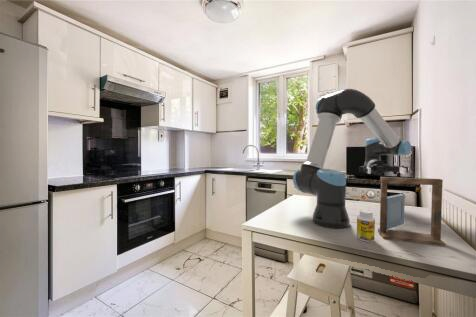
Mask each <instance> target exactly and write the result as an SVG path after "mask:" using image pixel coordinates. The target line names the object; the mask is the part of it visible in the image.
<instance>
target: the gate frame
mask: <svg viewBox="0 0 476 317" xmlns="http://www.w3.org/2000/svg"><path fill="white" fill-rule="evenodd" d="M379 178H380V179H379V180H380V181H379V182H380V200H379V201H380V202H379V203H380V207H379V208H380V209H379V210H380V211H379V228H377V231H378V233H379V235H380V237H381V238H382V239H385V240H393V241H399V242H400V241H401V242H408V243H418V244H425V245H433V246H440V247H446V243H445V242H444V241H443V240H442V239H441V238H442V235H441V233H442V211H443V208H442V206H443V184H444V183H443V179H441V178H425V177H423V178H421V177H417V178H416V177H397V176H396V177H395V176H394V177H393V176H391V177H390V176H380V177H379ZM388 184H397V185H398V184H401V185H423V186H424V185H425V186H431V208H430V209H431V212H430V213H431V214H430V233H425V232H415V231H405V230H397V229H386V217H387V197H388Z"/></svg>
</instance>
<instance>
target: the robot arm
mask: <svg viewBox="0 0 476 317" xmlns="http://www.w3.org/2000/svg"><path fill="white" fill-rule="evenodd" d="M315 110H316V111H315V113H316V114H317V117H316V118H317V119H318V123H317V125H316V129H315V132H314V135H313V139H312V141H311V145H310V148H309V150H308V151H309V152H308V155H307V158H306V160H305V162H303V163H302V164H301V165H300V168H299V169H297V170H296V171H295V172H294V173H293V176H292V182H293V185H294V188H295V189H296V190H297V191H299V192H302V193H304V194H308V195H313V196H316V205H315V208H314V211H313V214H312V222H313V223H314V224H315V225H318V226H320V227H325V228H328V229H329V228H330V229H344V228H348V227H350V220H351V219H350V217H349V214H348V211H347V207H346V194H347V193H346V192H347V191H346V190H347V181H346V180H347V179H346V174H345V172H342V171H340V170H337V169H330V168H324V165H325V162H326V158H327V155H328V152H329V149H330V146H331V142H332V139H333V135H334V132H335V129H336V126H337V124H338V123H340V122H341V119H342V117H343V116H344V115H347V114H349V115H350V114H352V115H353V116H354V117H355V118H356V119H360V120H361V122H362V123H363V124H364V125H365V126H366V128H368V130H370V131H371V133H372V134H373V136H375V137H376V138H367V139H366V140H365V145H364V146H365V161H364V165H361V166H359V167H358V169H359V170H358V171H359V172H363V174H369V175H371V174H374V175H382V174H385V173H391V172H392V173H393V172H394V173H400V174H402V175H407V173H409V167H408V166H405V165H401V166H399V165H394V164H393V165H390V164H386V163H385V161H383V160H381V157H382V156H407V155H409V154H410V153H411V150H412V145H411V142H410V141H408V140H401V139H400V137H399V136H398V135H397V133H395V132H394V130H393V129H392V128H391V126H390V125H389V124H388V122H387V121H386V120H385V119H384V117H383V116H382V115H381V114H380V113H379V111H378V110H377V109H376V103H375V102H374V101H373V100H372V99H371V97H369V96H368V95H366V93H364V92H361V91H360V90H357V89H354V88H345V89H342V90H340V91H339V90H338V91H336V92H332V93H328V94H326V95H323V96H321V97H320V98H319V99H318V100H317V102H316V105H315Z"/></svg>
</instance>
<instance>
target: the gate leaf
mask: <svg viewBox="0 0 476 317" xmlns="http://www.w3.org/2000/svg"><path fill="white" fill-rule="evenodd" d="M405 197H406V196H405V194H403V193H400V194H399V193H398V194H394V195H390V196H387V217H386V229H389V230H391V229H393V228H395V227H399V226H401V225H404V224H405V207H406V206H405V205H406V204H405V199H406V198H405Z"/></svg>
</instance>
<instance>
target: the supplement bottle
mask: <svg viewBox="0 0 476 317" xmlns="http://www.w3.org/2000/svg"><path fill="white" fill-rule="evenodd" d="M373 216H374V214H373V211H371V210H364V209H361V210H359V215H357V216H356V238H357V239H358V240H359V241H362V242H365V243H372V242H374V241H375V233H376V231H375V230H376V228H375V227H376V219H375V218H374V217H373Z"/></svg>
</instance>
